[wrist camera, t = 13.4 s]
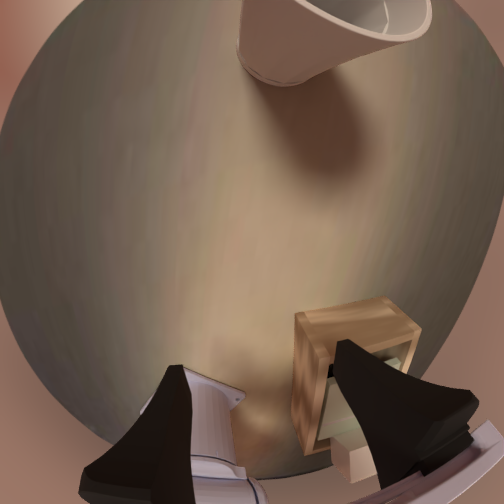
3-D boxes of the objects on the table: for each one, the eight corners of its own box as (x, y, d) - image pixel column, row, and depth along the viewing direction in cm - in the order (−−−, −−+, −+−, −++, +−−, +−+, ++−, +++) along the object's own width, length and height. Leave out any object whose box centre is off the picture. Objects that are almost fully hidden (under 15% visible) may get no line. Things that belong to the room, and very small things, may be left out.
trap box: (358, 395, 29) (380, 431, 23) (289, 413, 28) (304, 455, 22) (382, 293, 24) (421, 329, 18) (293, 310, 23) (319, 358, 17)
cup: (318, 14, 15) (399, -61, 4) (335, 97, 18) (451, 61, 7) (218, 13, 14) (235, -95, 3) (230, 102, 17) (264, 27, 6)
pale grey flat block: (363, 398, 26) (377, 421, 22) (307, 414, 25) (318, 441, 22) (380, 338, 23) (401, 363, 19) (314, 355, 22) (330, 385, 18)
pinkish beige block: (364, 451, 22) (388, 468, 17) (331, 462, 22) (350, 483, 16) (363, 422, 23) (388, 437, 18) (329, 433, 23) (349, 451, 18)
